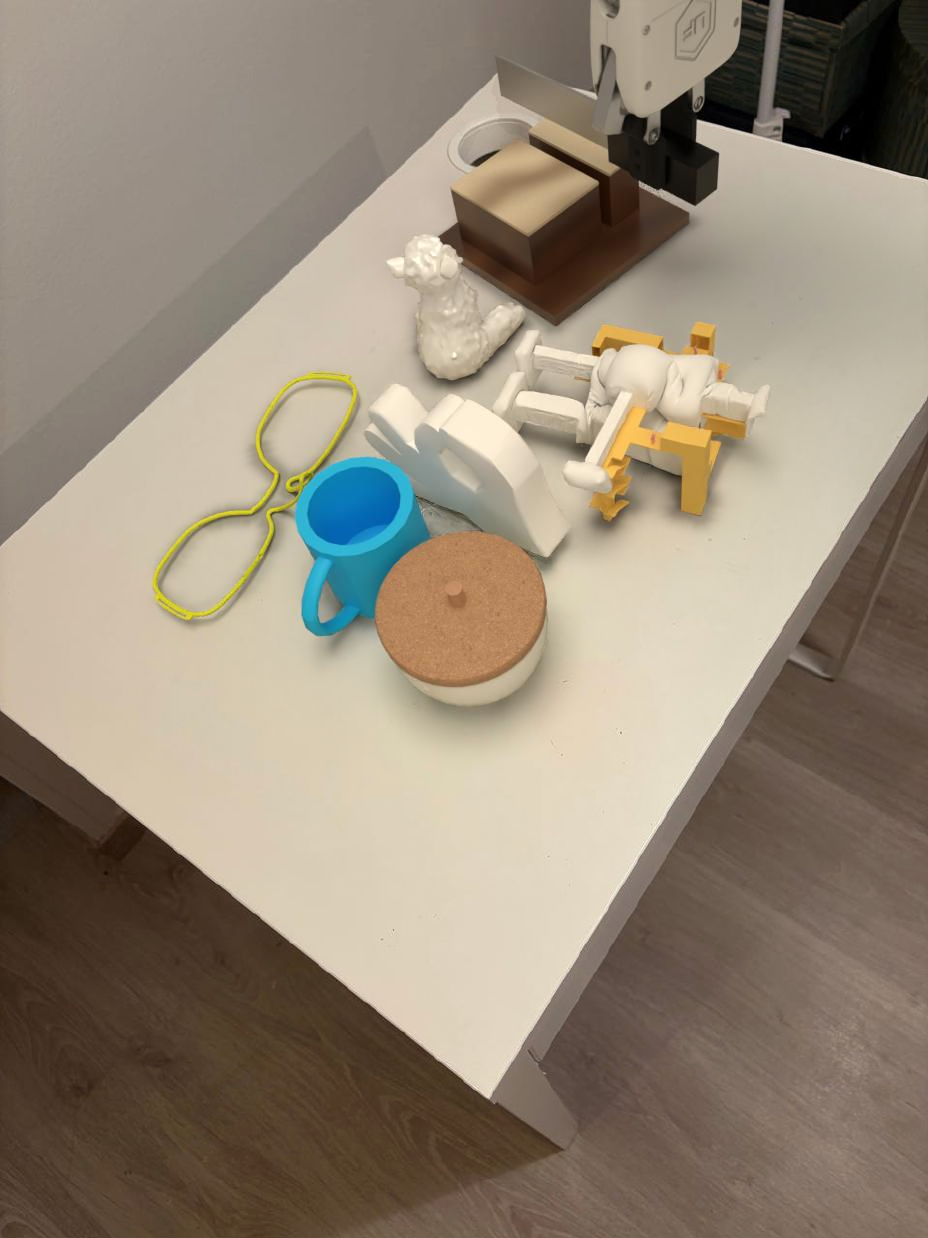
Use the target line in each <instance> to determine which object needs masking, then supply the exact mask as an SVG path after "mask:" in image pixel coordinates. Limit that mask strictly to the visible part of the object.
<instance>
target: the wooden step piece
mask: <svg viewBox="0 0 928 1238" xmlns="http://www.w3.org/2000/svg"><path fill="white" fill-rule="evenodd" d="M527 133H528V141H529V144H530V145H531V146H533V147H535V148H537V149H539V150H541V151H543V152H544V153H546V154H548V155H550V156H552V157H554V158H556V159H558V160H559V161H561V162H563V163H565V164H567V165H569V166H571V167H572V168H574V169H576V170H578V171H580V172H582V173H584V174H586V175H587V176H589V177H591V178H593V179H595V180H597V181H598V182H599V197H600V213H601V222H603V223H604V224H606V225H608V226H610V227H614V226H615V225H616V224H618V223H619V222H620V221H622V220H623V219H624V218H626V217H627V216H628V215H630V214H631V213H632V212H634V211H635V210H636V209H637V208H639V207H640V205H639V187H640V181H638V180H636V179H635V178H633V177H632V176H631V175H630V173H629V172H628V171H626V170H624V169H622V168H620V167H618V166H616V165H614V164H612V163H610V162H609V160H608V150H607V149H606V148H604V147H602V146H600V145H598V144H596V143H594V142H592V141H590V140H588V139H586V138H584V137H582V136H580V135H578V134H576V133H574V132H572V131H570V130H568V129H566V128H564V127H562V126H560V125H558V124H556V123H554V122H552V121H550V120H548V119H546V118H544V119H543V120H541V121H540V122H538V123H537V124H536V125H534V126H533V127H531V128H530V129H528V131H527Z"/></svg>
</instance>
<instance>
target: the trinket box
mask: <svg viewBox="0 0 928 1238" xmlns="http://www.w3.org/2000/svg"><path fill="white" fill-rule="evenodd" d="M545 585H546V584H545V582H544V579H543V576H542V573H541V571H540V569H539V567H538V566H537V564H536V562H535V561H534V560H533V558H531V556H530V555H529V553H527V552H526V550H525V549H523V548H520V547H519V546H518V545H516V544H514V543H513V542H511V541H509V540H507V539H505V538H502V537H500V536H498V535H494V534H490V533H486V532H484V531H475V530H466V531H465V530H464V531H461V530H460V531H454V532H450V533H449V532H448V533H445V534H441V535H437V536H434V537H431V539H430V540H428V541H425V542H423V543H422V544H420V545H418V546H416V547H415V548H413V549H412V550H410V551H409V552H408V553H407V554H405V555H404V556H403V557H402V558H401V559H400V560H399V561H398V562H397V563H396V564H395V565H394V566H393V567H392V569H391V570H390V572H389V573H388V574H387V576H386V578H385V579H384V581H383V583H382V585H381V587H380V590H379V593H378V596H377V600H376V607H375V618H374V622H375V628H376V633H377V636H378V638H379V641H380V643H381V646H382V647H383V649H384V650H385V652H386V653H387V656H388V657H389V658H390V660H392V662H393V663H394V664H395V665H396V667H397V668H398V670H399V671H400V673H401V674H402V675H403V676H404V677H405V678H406V679H407V680H408V682H410V684H412V685H413V686H414V687H415V688H416V689H418V690H419V691H421V692H422V693H423V694H424V695H426V696H427V697H429V698H431V699H433V700H435V701H437V702H439V703H440V702H441V703H443V704H447V705H450V706H457V707H465V708H466V707H467V708H468V707H469V708H470V707H474V708H475V707H480V706H486V705H489V704H493V703H496V702H499V701H501V700H503V699H505V698H507V697H509V696H510V695H512V694H514V693H515V692H516V691H517V690H519V689H520V688H521V687H522V686H524V684H525V683H526V682H527V681H528V680H529V678H530V677H531V676H532V675H533V673H534V672H535V670H536V669H537V667H538V666H539V663H540V662H541V660H542V657H543V654H544V651H545V647H546V644H547V639H548V629H549V627H548V625H549V615H548V608H547V607H548V599H547V592H546V591H547V590H546V586H545Z"/></svg>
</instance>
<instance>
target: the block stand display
mask: <svg viewBox="0 0 928 1238" xmlns="http://www.w3.org/2000/svg"><path fill="white" fill-rule="evenodd" d="M449 190H450V194H451V197H452V202H453V207H454V212H455V216H456V221H457V222H456V223H455V224H452V225H451V226H450V227H449V228H447V229H446V230H445V231H443V232H442V233H440V235H438V236H437V237H439V238H440V242H442V244H443V245H450V246H451V247H452V248H453V249H455V250H456V254H457V255H458V257H462V258H463V262H462V263H461V265H462V266H465V267H466V268H467V269H469V270H470V271H472V272H474V273H475V274H477V275H478V276H480V277H481V278H483V279H484V280H486V281H487V282H489V283H490V284H492V285H493V286H494V287H497V288H498V289H500V290H501V291H503V293H506V294H507V295H508V296H510V297H512V298H513V299H514V300H516V301H518V302H519V303H521V305H524V306H525V307H527V308H528V309H530V310H531V311H532V312H534V313H535V314H537V315H539V316H540V317H542V318H543V319H544V320H546V321H548V322H549V323H551V324H552V325H554V326H558V325H559V324H560V323H562V322H563V321H564V320H566V319H567V318H568V317H569V316H571V315H572V314H573V313H575V312H576V311H577V310H578V309H580V308H581V307H582V306H583V305H585V304H586V303H588V302H589V301H590V300H591V299H593V298H594V297H595V296H597V294H599V293H600V292H602V291H603V290H604V289H605V288H607V287H608V286H610V284H612V283H614V282H615V280H617V279H618V278H620V277H621V276H622V275H624V274H625V273H626V272H628V271H629V270H630V269H631V268H633V267H634V266H635V265H637V264H638V263H639V262H640V261H641V260H643V259H644V258H645V257H647V256H648V255H649V254H650V253H652V252H653V251H654V250H656V249H657V248H658V247H660V246H661V245H662V244H663V243H665V242H666V241H668V239H670V238H671V237H673V236H674V235H675V234H677V232H679V231H680V230H682V229H684V228H685V226H687V225H688V224H689V223H690V216H691V215H690V212H689V211H687V210H685V209H683V208H682V207H679V206H678V205H675V204H673V203H671V202H670V201H668V200H666V199H664V198H662V197H660V196H659V195H656V194H654V193H652V192H651V191H649V190H647V189H645V188H643V187H641V186H639V205H640V207H639V208H637V209H636V210H635V211H634V212H632V213H631V214H630V215H628V216H627V217H626V218H624V219H623V220H622V221H620V222H619V223H618V224H616V225H615V226H614V227H610V226H608V225H606V224H604V223H603V222H601V213H600V197H599V182H598V181H597V180H595V179H593V178H591V177H589V176H587V175H586V174H584V173H582V172H580V171H578V170H576V169H574V168H572V167H571V166H569V165H567V164H565V163H563V162H561V161H559V160H558V159H556V158H554V157H552V156H550V155H548V154H546V153H544V152H543V151H541V150H539V149H537V148H535V147H533V146H531V145H530V143H528V142H526V141H524V140H522V139H520V138H516V139H515V140H513V141H511V142H510V143H509V144H508V145H506V146H504V148H502V149H500V150H499V151H497V152H496V153H495V154H494V155H492V156H490V157H489V158H488V159H486V160H485V161H484V162H482V163H480V165H478V166H477V167H475V168H473V170H471V171H469V172H468V173H467V174H466V175H464V176H462V177H461V178H460V179H459V180H457V181H456V182H454V183H453V184H451V185H450V186H449Z"/></svg>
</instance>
